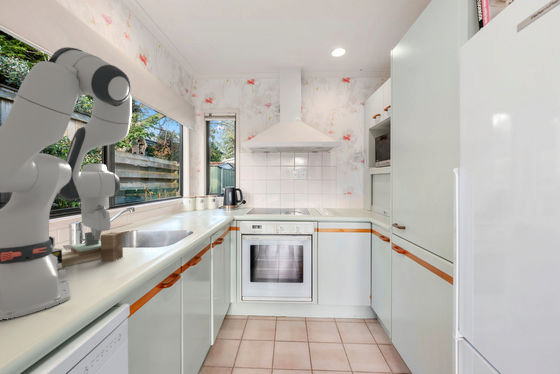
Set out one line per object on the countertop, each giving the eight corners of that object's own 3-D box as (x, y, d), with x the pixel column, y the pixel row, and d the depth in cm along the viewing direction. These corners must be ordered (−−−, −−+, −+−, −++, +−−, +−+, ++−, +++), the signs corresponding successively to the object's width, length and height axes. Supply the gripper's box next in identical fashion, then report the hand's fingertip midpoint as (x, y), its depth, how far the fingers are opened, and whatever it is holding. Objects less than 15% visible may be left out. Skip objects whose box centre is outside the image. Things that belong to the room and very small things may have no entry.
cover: (112, 245, 104) (112, 231, 104) (79, 251, 95) (79, 236, 95) (102, 241, 111) (102, 228, 110) (71, 247, 102) (70, 233, 102)
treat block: (113, 261, 97) (112, 235, 97) (101, 260, 97) (100, 235, 97) (122, 257, 102) (122, 232, 101) (111, 256, 102) (110, 232, 102)
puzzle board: (113, 255, 104) (113, 246, 104) (56, 268, 89) (55, 256, 89) (102, 250, 111) (102, 241, 111) (47, 261, 97) (47, 251, 96)
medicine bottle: (39, 275, 84) (38, 239, 83) (24, 273, 85) (22, 238, 85) (62, 268, 90) (61, 235, 90) (48, 266, 92) (46, 234, 92)
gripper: (114, 205, 96) (115, 241, 97) (96, 202, 108) (96, 234, 109) (95, 206, 91) (96, 244, 91) (77, 203, 103) (78, 237, 104)
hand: (96, 239), depth 100 cm, fingers closed
